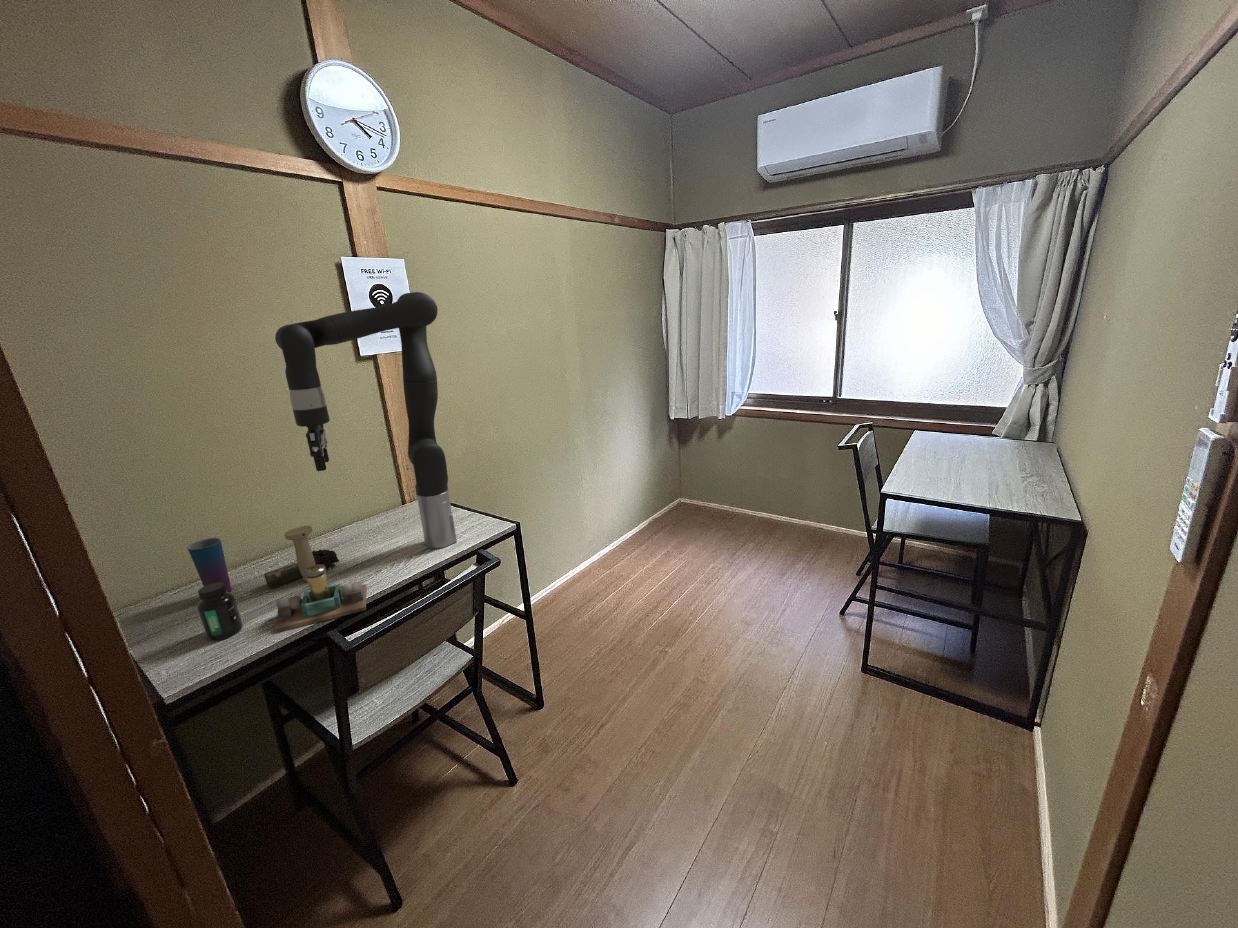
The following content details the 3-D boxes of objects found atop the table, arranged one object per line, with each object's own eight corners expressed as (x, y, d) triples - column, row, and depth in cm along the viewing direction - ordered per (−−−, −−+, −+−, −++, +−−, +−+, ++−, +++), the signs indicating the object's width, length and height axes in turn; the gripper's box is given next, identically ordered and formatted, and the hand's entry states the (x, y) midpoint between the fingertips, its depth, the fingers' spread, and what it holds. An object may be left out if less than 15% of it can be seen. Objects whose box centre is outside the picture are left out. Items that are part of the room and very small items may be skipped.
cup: (201, 603, 130) (184, 551, 126) (207, 591, 136) (191, 541, 132) (233, 596, 133) (217, 545, 129) (238, 584, 139) (222, 535, 135)
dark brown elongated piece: (271, 591, 135) (265, 573, 134) (265, 583, 140) (260, 565, 138) (341, 566, 147) (337, 549, 145) (334, 559, 152) (330, 542, 150)
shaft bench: (366, 587, 135) (363, 570, 133) (365, 610, 124) (361, 592, 123) (284, 606, 127) (279, 589, 126) (276, 632, 117) (270, 614, 116)
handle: (326, 576, 142) (314, 527, 137) (303, 587, 136) (290, 536, 132) (317, 572, 144) (305, 524, 140) (294, 582, 139) (280, 533, 134)
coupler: (334, 597, 129) (325, 562, 126) (333, 606, 125) (324, 570, 122) (314, 602, 127) (304, 567, 124) (312, 611, 123) (302, 575, 120)
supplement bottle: (222, 643, 114) (206, 597, 110) (200, 639, 116) (184, 593, 112) (250, 625, 120) (236, 581, 117) (229, 621, 122) (215, 578, 118)
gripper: (323, 408, 123) (337, 471, 128) (328, 400, 136) (341, 457, 140) (287, 412, 120) (303, 476, 125) (296, 403, 133) (310, 461, 138)
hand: (323, 466), depth 133 cm, fingers open, 8 cm apart
